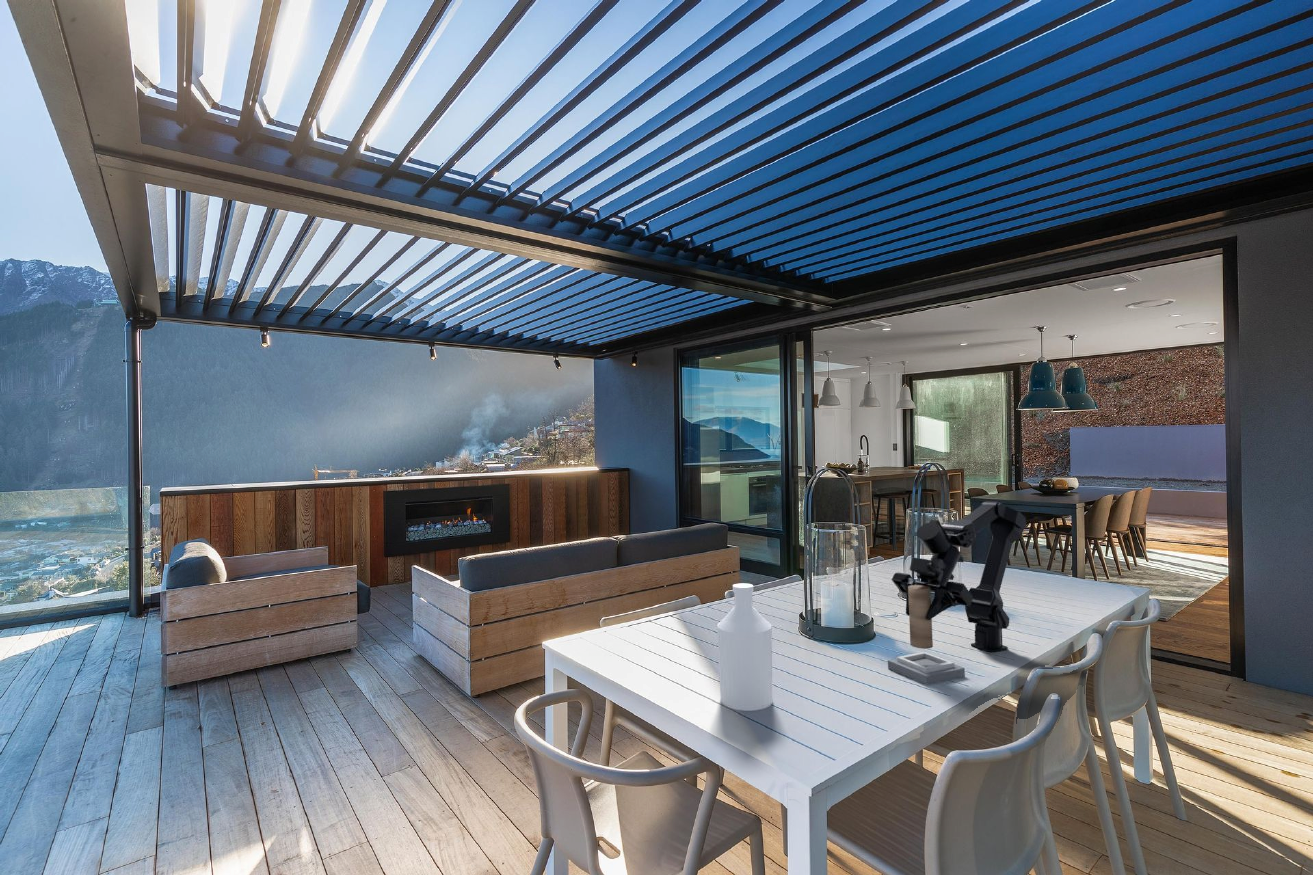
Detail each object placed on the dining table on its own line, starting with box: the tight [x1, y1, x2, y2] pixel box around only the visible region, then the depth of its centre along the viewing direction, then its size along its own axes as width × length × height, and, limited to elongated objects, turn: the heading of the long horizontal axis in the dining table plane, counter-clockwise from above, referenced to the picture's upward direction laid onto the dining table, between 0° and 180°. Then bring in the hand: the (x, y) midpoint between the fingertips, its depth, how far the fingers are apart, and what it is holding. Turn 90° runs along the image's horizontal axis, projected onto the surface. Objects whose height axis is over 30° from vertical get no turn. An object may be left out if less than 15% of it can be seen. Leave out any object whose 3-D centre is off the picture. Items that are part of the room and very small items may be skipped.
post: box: [908, 585, 934, 650], centre depth 148 cm, size 5×5×14 cm
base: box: [887, 651, 966, 686], centre depth 147 cm, size 12×12×3 cm
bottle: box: [716, 582, 774, 712], centre depth 134 cm, size 12×12×25 cm
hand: (917, 616), depth 147 cm, fingers closed on post, 5 cm apart
